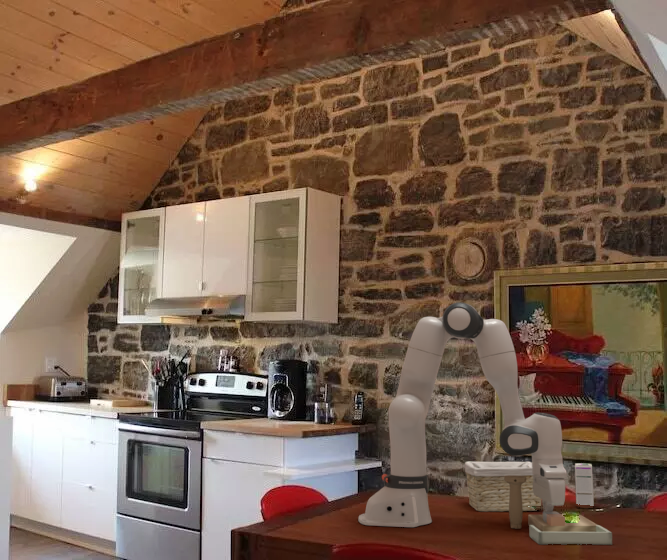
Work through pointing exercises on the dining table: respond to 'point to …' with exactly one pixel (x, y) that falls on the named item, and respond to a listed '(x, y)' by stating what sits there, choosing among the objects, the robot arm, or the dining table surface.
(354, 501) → the dining table surface
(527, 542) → the dining table surface
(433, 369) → the robot arm
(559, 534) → the tray
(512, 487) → the handle
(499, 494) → the storage basket
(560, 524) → the tile
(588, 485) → the syrup box
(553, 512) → the tile
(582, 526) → the square wooden board
